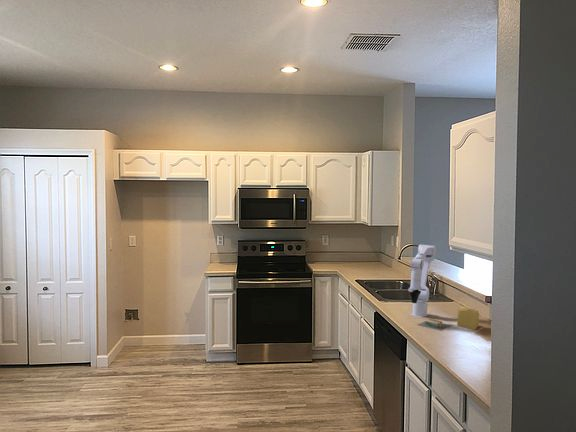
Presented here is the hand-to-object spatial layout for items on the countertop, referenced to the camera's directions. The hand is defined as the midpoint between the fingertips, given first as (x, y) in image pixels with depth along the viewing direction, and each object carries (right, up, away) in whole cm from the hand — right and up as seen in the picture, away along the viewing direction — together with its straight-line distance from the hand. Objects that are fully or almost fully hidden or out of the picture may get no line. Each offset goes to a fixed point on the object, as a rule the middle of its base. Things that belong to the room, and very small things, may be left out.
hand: (414, 303), depth 274 cm
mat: (+9, -12, -7) cm, 17 cm away
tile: (+11, -10, -6) cm, 16 cm away
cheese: (+29, -13, -5) cm, 32 cm away
